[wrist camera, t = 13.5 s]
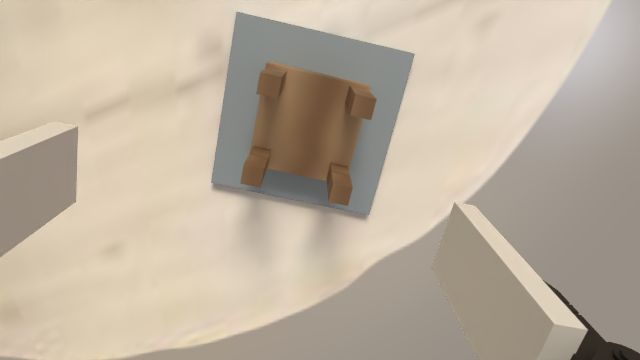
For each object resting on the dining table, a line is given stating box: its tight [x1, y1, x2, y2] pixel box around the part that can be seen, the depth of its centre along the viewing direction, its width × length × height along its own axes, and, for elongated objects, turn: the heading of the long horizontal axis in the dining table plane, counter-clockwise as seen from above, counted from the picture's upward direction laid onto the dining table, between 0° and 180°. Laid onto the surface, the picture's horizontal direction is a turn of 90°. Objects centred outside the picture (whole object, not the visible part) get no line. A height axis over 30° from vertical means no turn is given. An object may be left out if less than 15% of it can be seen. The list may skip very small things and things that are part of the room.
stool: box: [240, 61, 377, 206], centre depth 31 cm, size 8×8×7 cm
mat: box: [211, 12, 414, 215], centre depth 35 cm, size 14×14×1 cm
